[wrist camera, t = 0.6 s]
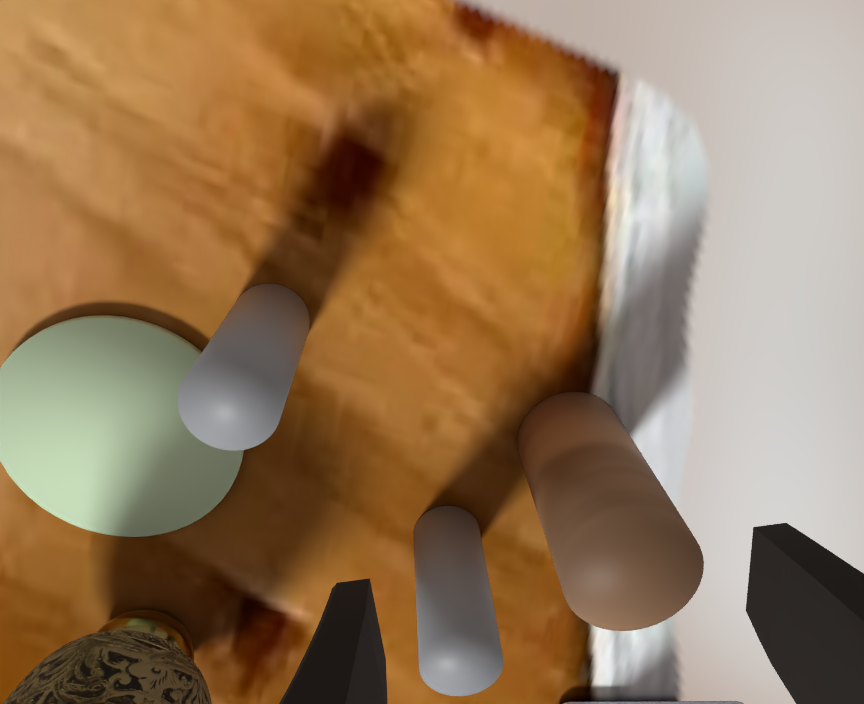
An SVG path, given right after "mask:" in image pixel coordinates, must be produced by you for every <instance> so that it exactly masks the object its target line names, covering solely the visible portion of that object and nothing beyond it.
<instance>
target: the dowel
mask: <svg viewBox="0 0 864 704" xmlns="http://www.w3.org/2000/svg"><path fill="white" fill-rule="evenodd" d="M517 446H518V452H519V456H520V459H521V462H522V465H523V468H524V471H525V474H526V477H527V481H528V484H529V487H530V490H531V493H532V496H533V499H534V503H535V506H536V509H537V512H538V515H539V518H540V521H541V524H542V528H543V531H544V534H545V537H546V540H547V543H548V546H549V550H550V553H551V556H552V559H553V562H554V565H555V568H556V571H557V575H558V578H559V581H560V584H561V587H562V590H563V593H564V597H565V599H566V601H567V603H568V605H569V606H570V608H571V609H572V610H573V611H574V613H575V614H576V615H577V616H579V617H580V618H581V619H582V620H584V621H586V622H588V623H589V624H592V625H594V626H596V627H599V628H603V629H608V630H614V631H631V630H637V629H642V628H646V627H650V626H653V625H655V624H658V623H660V622H662V621H664V620H666V619H668V618H669V617H671V616H673V615H674V614H675V613H677V612H678V611H679V610H680V609H682V608H683V607H684V606H685V605H686V604H687V603H688V602H689V600H690V599H691V598H692V597H693V595H694V594H695V592H696V590H697V588H698V586H699V584H700V582H701V578H702V575H703V564H704V561H703V555H702V552H701V549H700V546H699V544H698V543H697V541H696V539H695V538H694V536H693V534H692V533H691V531H690V530H689V528H688V527H687V525H686V523H685V522H684V520H683V519H682V517H681V516H680V514H679V512H678V511H677V509H676V508H675V506H674V504H673V503H672V501H671V500H670V498H669V497H668V495H667V493H666V492H665V490H664V489H663V487H662V486H661V484H660V482H659V481H658V479H657V478H656V476H655V475H654V473H653V471H652V470H651V468H650V467H649V465H648V464H647V462H646V460H645V459H644V457H643V456H642V454H641V452H640V451H639V449H638V448H637V446H636V445H635V443H634V441H633V440H632V438H631V437H630V435H629V434H628V432H627V430H626V429H625V427H624V426H623V424H622V423H621V421H620V419H619V418H618V416H617V415H616V413H615V411H614V410H613V409H612V408H611V406H610V405H609V404H607V403H606V402H605V401H604V400H602V399H601V398H599V397H597V396H595V395H592V394H589V393H584V392H565V393H560V394H556V395H553V396H551V397H548V398H547V399H545V400H543V401H541V402H540V403H538V404H537V405H536V406H535V407H534V408H532V409H531V411H530V412H529V413H528V414H527V415H526V417H525V418H524V420H523V422H522V424H521V426H520V429H519V432H518V437H517Z"/></svg>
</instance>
